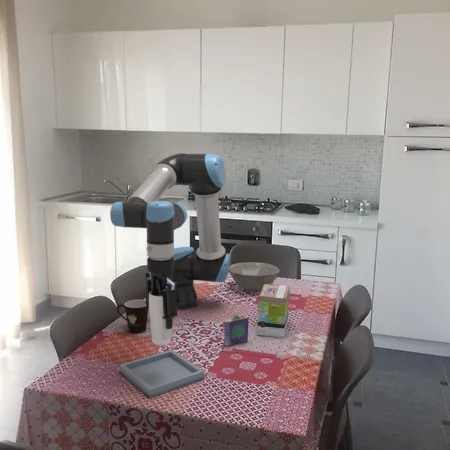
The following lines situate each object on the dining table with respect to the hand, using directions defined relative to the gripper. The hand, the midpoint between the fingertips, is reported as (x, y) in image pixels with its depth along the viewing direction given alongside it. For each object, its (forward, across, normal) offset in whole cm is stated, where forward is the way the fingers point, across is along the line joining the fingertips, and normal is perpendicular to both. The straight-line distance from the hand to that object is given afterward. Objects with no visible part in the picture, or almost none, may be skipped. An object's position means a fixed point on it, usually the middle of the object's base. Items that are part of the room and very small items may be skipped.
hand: (161, 334), depth 145 cm
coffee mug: (+13, -36, +10) cm, 40 cm away
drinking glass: (+3, 0, 0) cm, 3 cm away
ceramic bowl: (+13, -46, +75) cm, 89 cm away
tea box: (+13, -7, +51) cm, 53 cm away
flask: (+13, -5, +32) cm, 35 cm away
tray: (+13, 0, 0) cm, 13 cm away
